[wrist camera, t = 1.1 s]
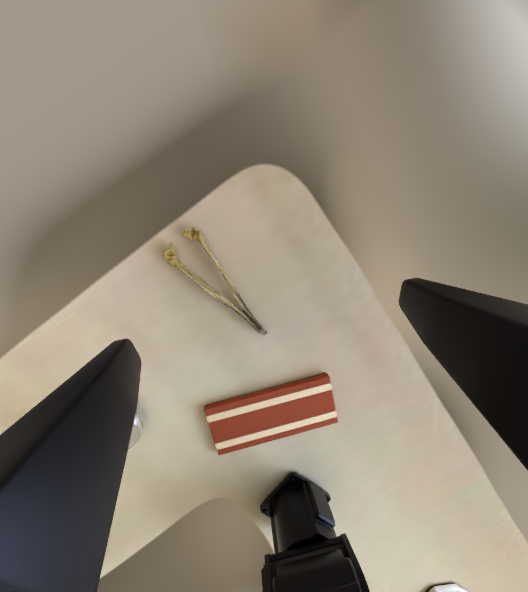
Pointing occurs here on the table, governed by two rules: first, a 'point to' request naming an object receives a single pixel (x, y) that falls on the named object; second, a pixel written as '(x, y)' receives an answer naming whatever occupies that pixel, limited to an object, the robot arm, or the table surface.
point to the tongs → (173, 261)
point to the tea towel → (271, 413)
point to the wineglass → (448, 588)
